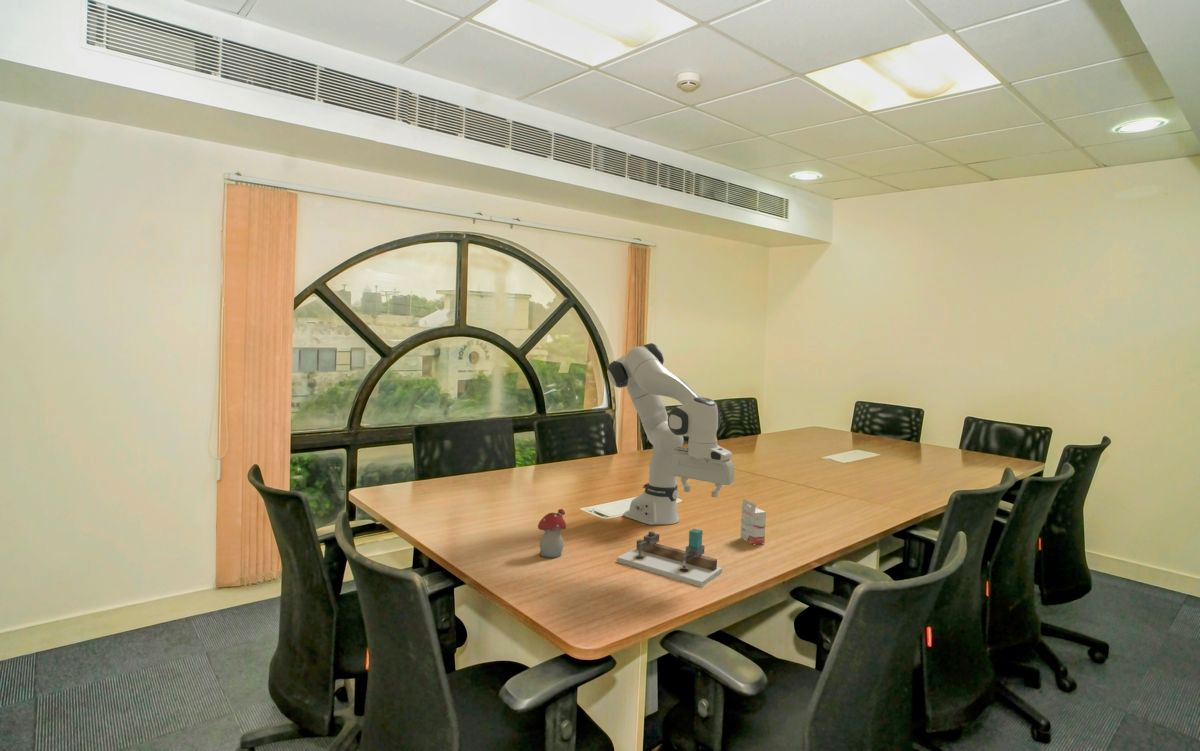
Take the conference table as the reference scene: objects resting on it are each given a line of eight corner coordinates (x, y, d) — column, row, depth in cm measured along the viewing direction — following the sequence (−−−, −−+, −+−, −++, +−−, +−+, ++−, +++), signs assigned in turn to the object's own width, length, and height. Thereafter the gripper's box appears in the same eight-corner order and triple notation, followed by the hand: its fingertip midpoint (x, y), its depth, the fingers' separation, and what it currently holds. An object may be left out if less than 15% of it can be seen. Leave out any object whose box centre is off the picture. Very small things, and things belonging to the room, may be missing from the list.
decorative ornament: (565, 551, 198) (566, 507, 197) (566, 558, 192) (567, 512, 191) (537, 551, 197) (538, 507, 196) (537, 558, 191) (538, 512, 190)
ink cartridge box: (765, 544, 212) (767, 503, 211) (753, 545, 210) (755, 504, 209) (751, 536, 220) (753, 497, 219) (739, 537, 218) (741, 498, 217)
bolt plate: (616, 561, 190) (617, 556, 190) (640, 550, 202) (640, 545, 202) (701, 586, 173) (702, 581, 173) (722, 572, 184) (722, 567, 184)
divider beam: (625, 554, 192) (626, 534, 192) (641, 546, 201) (642, 527, 200) (704, 577, 176) (705, 555, 176) (718, 567, 184) (719, 546, 184)
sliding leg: (677, 566, 181) (678, 535, 181) (692, 557, 189) (693, 527, 189) (689, 569, 179) (690, 538, 178) (703, 560, 187) (705, 530, 187)
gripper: (668, 447, 187) (666, 490, 188) (729, 456, 176) (727, 502, 177) (677, 444, 193) (675, 486, 194) (737, 453, 181) (735, 497, 182)
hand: (700, 494), depth 185 cm, fingers open, 8 cm apart
